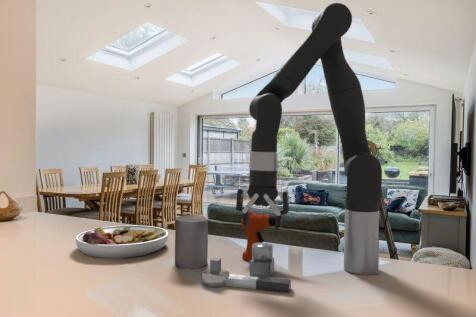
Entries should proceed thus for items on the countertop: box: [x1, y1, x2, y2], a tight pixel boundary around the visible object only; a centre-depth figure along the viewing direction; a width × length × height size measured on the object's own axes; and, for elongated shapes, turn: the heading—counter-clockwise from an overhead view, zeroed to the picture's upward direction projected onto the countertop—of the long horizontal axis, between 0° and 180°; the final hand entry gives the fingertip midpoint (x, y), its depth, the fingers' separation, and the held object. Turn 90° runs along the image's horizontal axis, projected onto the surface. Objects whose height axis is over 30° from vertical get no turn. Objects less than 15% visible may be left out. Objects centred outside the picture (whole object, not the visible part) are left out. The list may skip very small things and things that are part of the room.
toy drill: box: [240, 211, 297, 262], centre depth 118 cm, size 5×19×15 cm, turn 61°
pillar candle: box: [174, 213, 209, 269], centre depth 115 cm, size 10×10×15 cm
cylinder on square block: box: [249, 242, 275, 277], centre depth 107 cm, size 6×6×8 cm
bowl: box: [75, 224, 169, 259], centre depth 133 cm, size 30×30×8 cm
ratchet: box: [201, 257, 292, 294], centre depth 98 cm, size 22×7×6 cm, turn 74°
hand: (261, 227), depth 107 cm, fingers open, 8 cm apart
